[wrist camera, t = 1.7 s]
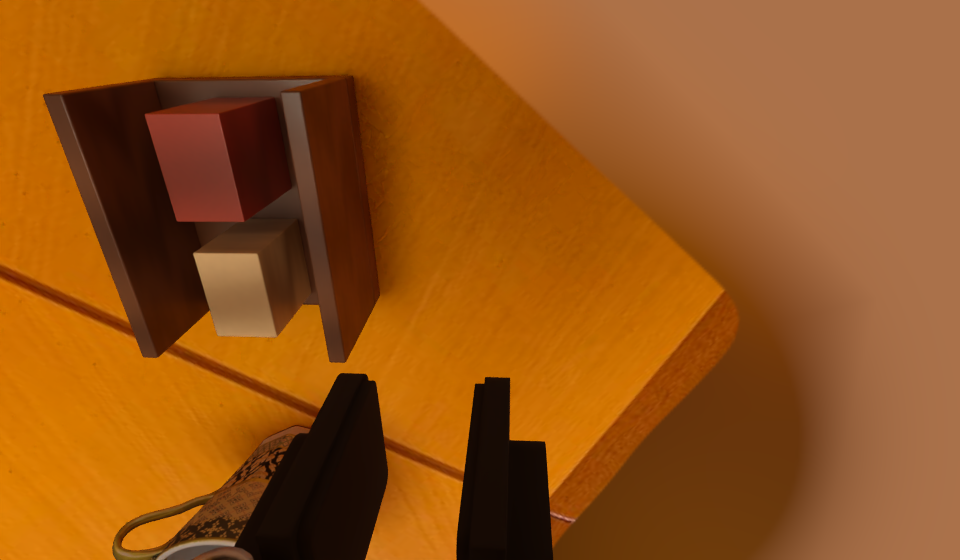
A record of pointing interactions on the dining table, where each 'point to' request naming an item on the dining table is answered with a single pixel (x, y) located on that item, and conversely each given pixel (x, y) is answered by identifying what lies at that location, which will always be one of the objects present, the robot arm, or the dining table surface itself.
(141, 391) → the dining table surface
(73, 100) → the open wooden box
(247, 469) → the ceramic cup
